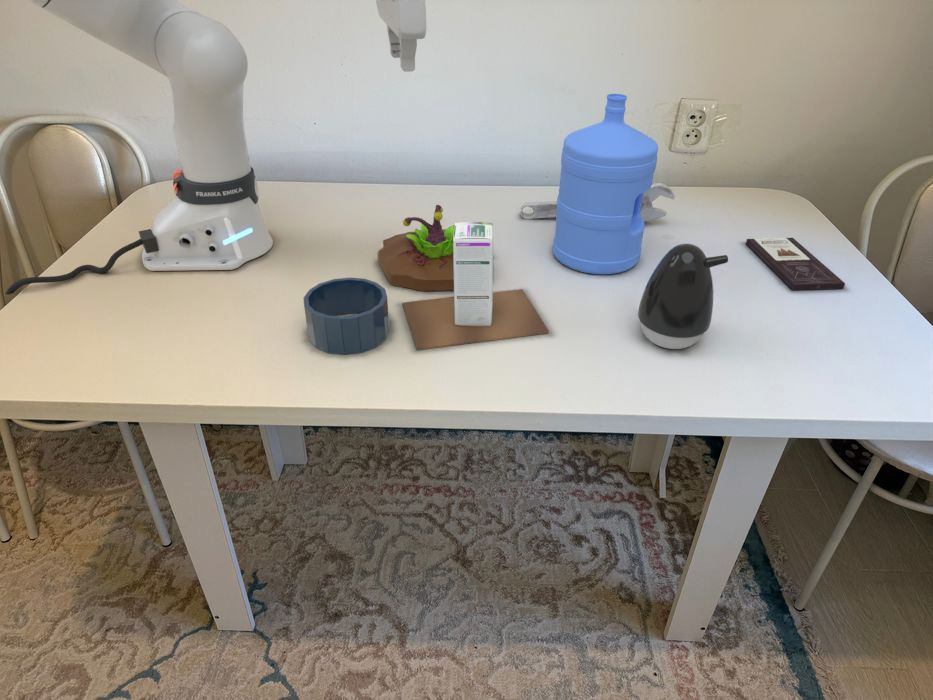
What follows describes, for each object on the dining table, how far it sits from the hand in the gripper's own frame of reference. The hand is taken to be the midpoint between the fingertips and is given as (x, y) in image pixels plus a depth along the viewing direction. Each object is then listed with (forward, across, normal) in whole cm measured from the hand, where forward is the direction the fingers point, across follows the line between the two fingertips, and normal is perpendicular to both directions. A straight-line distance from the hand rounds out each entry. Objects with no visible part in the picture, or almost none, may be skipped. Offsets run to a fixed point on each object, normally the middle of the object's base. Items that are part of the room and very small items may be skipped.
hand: (402, 63), depth 94 cm
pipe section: (+34, -15, +12) cm, 39 cm away
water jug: (+34, 0, -34) cm, 48 cm away
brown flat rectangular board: (+34, -16, -7) cm, 38 cm away
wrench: (+34, +15, -40) cm, 55 cm away
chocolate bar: (+34, -11, -67) cm, 76 cm away
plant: (+34, +3, -5) cm, 35 cm away
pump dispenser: (+34, -28, -34) cm, 56 cm away
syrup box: (+34, -16, -7) cm, 38 cm away
